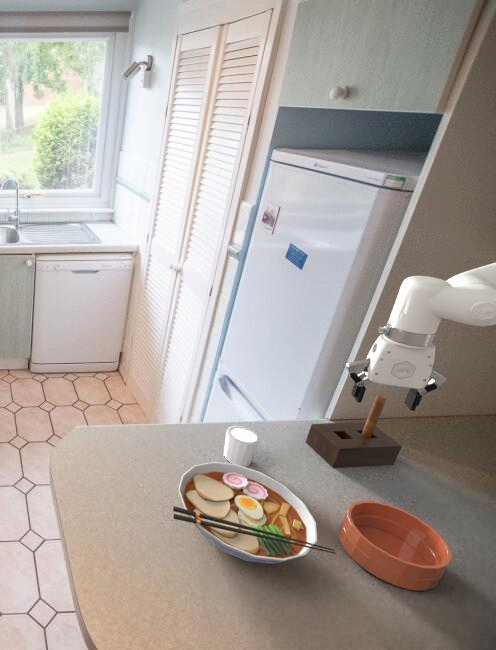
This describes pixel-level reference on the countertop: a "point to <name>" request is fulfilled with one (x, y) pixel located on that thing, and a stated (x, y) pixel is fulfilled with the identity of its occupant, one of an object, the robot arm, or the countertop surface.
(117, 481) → the countertop surface
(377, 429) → the holder
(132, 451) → the countertop surface
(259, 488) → the ramen bowl
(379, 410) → the stick
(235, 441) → the white short cylinder
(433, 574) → the baking dish
